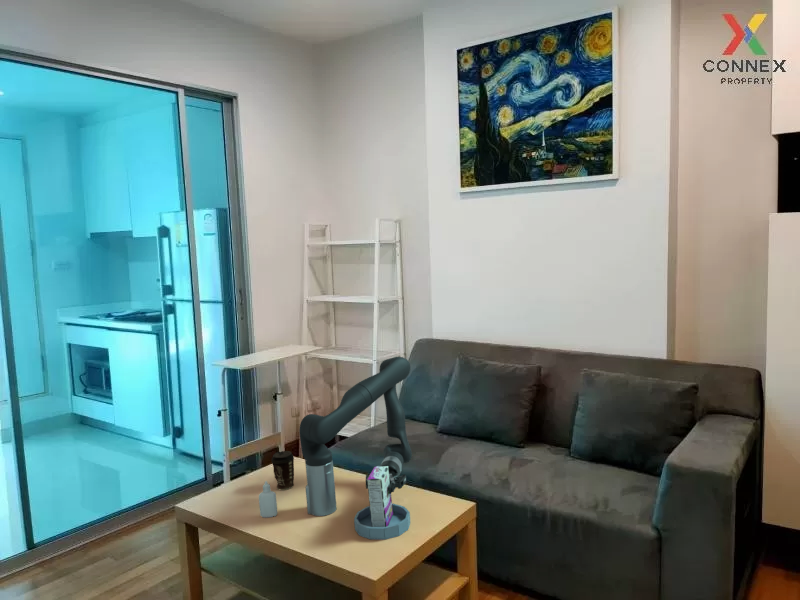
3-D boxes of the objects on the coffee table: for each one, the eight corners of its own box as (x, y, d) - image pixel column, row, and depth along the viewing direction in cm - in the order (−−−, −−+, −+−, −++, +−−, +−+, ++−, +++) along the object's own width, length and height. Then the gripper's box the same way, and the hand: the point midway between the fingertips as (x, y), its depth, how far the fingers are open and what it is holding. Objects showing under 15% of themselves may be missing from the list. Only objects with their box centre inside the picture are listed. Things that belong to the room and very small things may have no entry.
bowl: (350, 539, 179) (349, 528, 179) (362, 513, 196) (361, 503, 196) (405, 539, 176) (404, 528, 176) (413, 513, 193) (412, 503, 193)
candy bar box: (378, 514, 192) (374, 465, 191) (393, 514, 192) (389, 465, 190) (370, 530, 182) (366, 478, 180) (386, 530, 181) (382, 478, 179)
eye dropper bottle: (267, 511, 203) (264, 477, 202) (279, 514, 200) (276, 480, 199) (258, 516, 200) (255, 482, 198) (270, 519, 197) (267, 485, 196)
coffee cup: (278, 482, 229) (275, 449, 228) (299, 482, 228) (296, 449, 227) (270, 491, 220) (267, 458, 219) (292, 491, 219) (289, 457, 218)
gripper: (368, 460, 203) (357, 479, 187) (409, 459, 201) (401, 479, 184) (370, 481, 204) (359, 502, 187) (411, 480, 202) (403, 502, 185)
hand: (380, 490), depth 186 cm, fingers open, 5 cm apart
